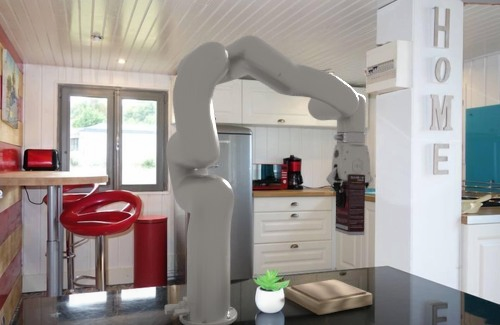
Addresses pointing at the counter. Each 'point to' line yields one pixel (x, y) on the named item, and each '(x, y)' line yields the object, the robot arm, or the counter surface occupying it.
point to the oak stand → (328, 296)
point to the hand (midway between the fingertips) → (349, 206)
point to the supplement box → (352, 207)
